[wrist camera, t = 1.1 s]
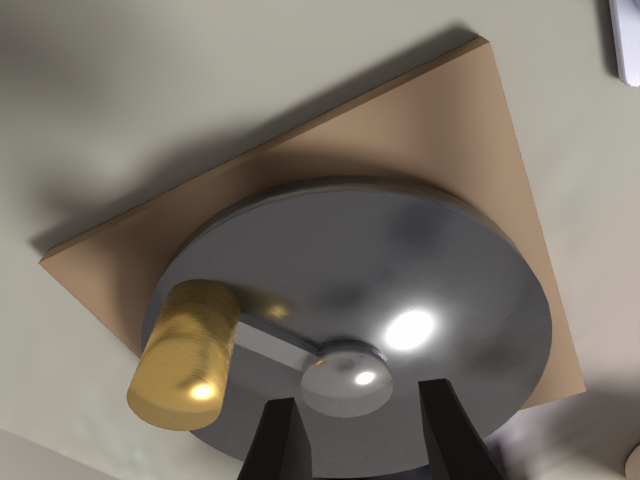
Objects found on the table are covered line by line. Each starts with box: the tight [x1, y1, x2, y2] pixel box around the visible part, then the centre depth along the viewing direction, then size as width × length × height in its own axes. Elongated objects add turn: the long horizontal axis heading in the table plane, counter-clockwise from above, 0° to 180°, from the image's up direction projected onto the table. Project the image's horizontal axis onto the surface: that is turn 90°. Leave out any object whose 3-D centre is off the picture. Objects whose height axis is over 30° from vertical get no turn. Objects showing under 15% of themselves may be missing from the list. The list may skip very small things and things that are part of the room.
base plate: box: [39, 36, 586, 411], centre depth 23 cm, size 20×20×1 cm
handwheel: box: [127, 175, 552, 478], centre depth 20 cm, size 18×18×6 cm
